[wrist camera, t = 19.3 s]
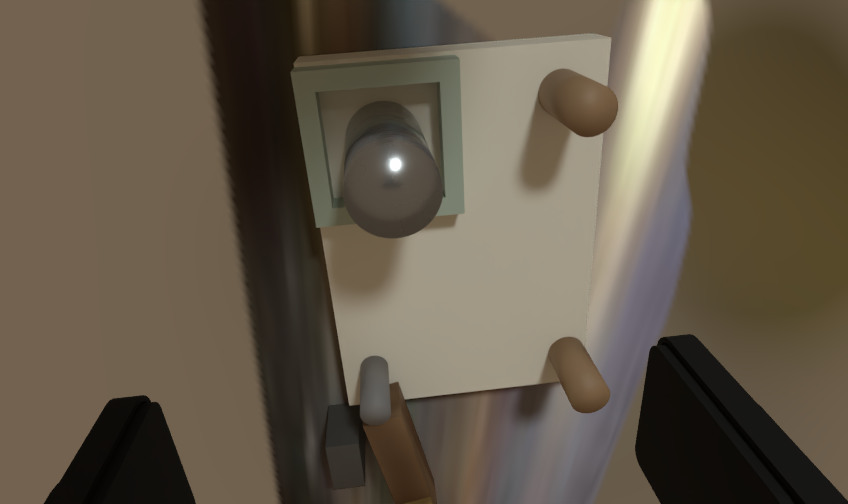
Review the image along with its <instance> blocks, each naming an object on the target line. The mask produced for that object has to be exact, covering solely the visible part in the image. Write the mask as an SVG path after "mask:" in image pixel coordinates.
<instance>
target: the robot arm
mask: <svg viewBox="0 0 848 504" xmlns="http://www.w3.org/2000/svg"><path fill="white" fill-rule="evenodd" d="M635 451H636V457H637V460H638V463H639V465H640V467H641V469H642V471H643V473H644V475H645V476H646V478H647V480H648V482H649V483H650V485H651V487H652V489H653V490H654V492H655V494H656V496H657V498H658V499H659V501H660V503H661V504H848V501H847V500H846V499H845V498H844V497H843V495H842V494H841V493H840V492H839V491H838V490H837V489H836V488H835V487H834V486H833V485H832V483H831V482H830V481H829V480H828V479H827V478H826V477H825V476H824V475H823V474H822V473H821V471H820V470H819V469H818V468H817V467H816V466H815V465H814V464H813V463H812V462H811V461H810V460H809V458H808V457H807V456H806V455H805V454H804V453H803V452H802V451H801V450H800V449H799V448H798V446H797V445H796V444H795V443H794V442H793V441H792V440H791V439H790V438H789V437H788V436H787V434H786V433H785V432H784V431H783V430H782V429H781V428H780V427H779V426H778V425H777V424H776V423H775V421H774V420H773V419H772V418H771V417H770V416H769V415H768V414H767V413H766V412H765V411H764V409H763V408H762V407H761V406H760V405H758V404H757V403H756V402H755V401H754V400H753V398H752V397H751V396H750V395H749V394H748V393H747V392H746V391H745V390H744V389H743V388H742V386H741V385H740V384H739V383H738V382H737V381H736V380H735V379H734V378H733V377H732V376H731V375H730V373H729V372H728V371H727V370H726V369H725V368H724V367H723V366H722V365H721V364H720V362H718V360H717V359H716V358H715V357H714V356H713V355H712V354H711V353H710V352H709V351H708V349H706V347H705V346H704V345H703V344H702V343H701V342H700V341H699V340H698V338H696V337H695V336H694V335H691V334H688V335H679V336H670V337H663V338H660V340H659V341H658V344H657V346H652V347H651V349H650V352H649V358H648V365H647V372H646V378H645V385H644V391H643V398H642V405H641V411H640V418H639V425H638V431H637V438H636V445H635ZM44 504H196V503H195V499H194V496H193V494H192V491H191V488H190V486H189V483H188V480H187V477H186V475H185V472H184V469H183V466H182V464H181V461H180V458H179V455H178V453H177V450H176V447H175V444H174V442H173V439H172V436H171V433H170V431H169V428H168V425H167V423H166V420H165V417H164V414H163V412H162V409H161V407H160V405H159V404H158V403H157V402H151V401H150V399H149V398H148V397H147V396H144V395H142V396H133V397H124V398H116V399H112V400H110V401H109V402H108V403H107V404H106V406H105V407H104V409H103V411H102V412H101V414H100V416H99V418H98V419H97V421H96V422H95V424H94V426H93V427H92V429H91V431H90V433H89V434H88V436H87V437H86V439H85V441H84V442H83V444H82V446H81V447H80V449H79V451H78V452H77V454H76V456H75V457H74V459H73V461H72V462H71V464H70V466H69V467H68V469H67V471H66V472H65V474H64V476H63V477H62V479H61V480H60V482H59V483H58V484H57V485H56V486H55V488H54V489H53V490H52V492H51V493H50V494H49V496H48V498H47V499H46V501H45V503H44Z"/></svg>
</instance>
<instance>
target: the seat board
mask: <svg viewBox="0 0 848 504" xmlns="http://www.w3.org/2000/svg"><path fill="white" fill-rule="evenodd" d="M610 48H611V38H610V37H606V36H602V35H597V34H593V33H591V34H579V35H565V36H554V37H541V38H527V39H515V40H502V41H489V42H477V43H464V44H451V45H439V46H426V47H413V48H401V49H388V50H375V51H363V52H350V53H337V54H325V55H312V56H299V57H298V58H297V59H296V61H295V62H294V63H293V64H294V68H293V69H292V71H291V72H290V73H291V79H292V85H293V91H294V97H295V103H296V109H297V115H298V121H299V127H300V133H301V139H302V145H303V151H304V157H305V163H306V169H307V175H308V181H309V187H310V193H311V199H312V205H313V211H314V217H315V223H316V228H319V227H320V230H321V236H322V242H323V248H324V254H325V260H326V266H327V272H328V279H329V285H330V291H331V297H332V303H333V309H334V315H335V321H336V328H337V334H338V340H339V346H340V352H341V358H342V364H343V370H344V377H345V383H346V389H347V395H348V401H349V404H340V405H331V406H329V409H328V420H327V432H326V444H325V449H326V454H327V459H328V464H329V469H330V474H331V480H332V485H333V490H336V489H344V488H352V487H360V486H365V438H364V432H363V425H362V421H363V422H364V423H366V424H368V425H373V426H376V425H381V424H384V423H385V422H387V421H388V420H389V418H390V416H391V403H390V386H389V384H391V383H395V382H399V385H400V388H401V391H402V393H403V396H404V399H413V398H421V397H430V396H439V395H447V394H456V393H465V392H473V391H482V390H491V389H499V388H508V387H517V386H525V385H534V384H543V383H551V382H560V383H561V385H562V387H563V389H564V391H565V393H566V395H567V397H568V399H569V401H570V403H571V405H572V407H573V408H574V409H575V410H576V411H578V412H581V413H592V412H595V411H598V410H599V409H601V408H602V407H604V406H605V405H606V404H607V402H608V400H609V398H610V390H609V388H608V386H607V385H606V383H605V381H604V380H603V378H602V376H601V374H600V373H599V371H598V369H597V368H596V366H595V364H594V363H593V361H592V359H591V358H590V356H589V354H588V352H587V351H586V349H585V342H586V330H587V319H588V307H589V295H590V283H591V271H592V260H593V248H594V236H595V224H596V213H597V201H598V189H599V177H600V165H601V154H602V142H603V132H605V131H606V130H607V129H608V128H609V127H610V126H611V125H612V123H613V122H614V120H615V118H616V115H617V111H618V101H617V98H616V95H615V94H614V92H613V91H612V90H611V89H610V88H609V87H607V83H608V71H609V59H610ZM376 101H391V102H395V103H398V104H400V105H402V106H403V107H405V108H406V109H408V110H409V111H410V112H411V113H412V114H413V115H414V117H415V118H416V120H417V122H418V124H419V126H420V128H421V131H422V133H423V135H424V138H425V140H426V142H427V145H428V147H429V149H430V152H431V154H432V156H433V159H434V161H435V163H436V166H437V168H438V170H439V173H440V175H441V178H442V182H443V198H442V203H441V206H440V208H439V211H438V213H437V214H436V216H435V217H434V219H433V220H432V221H431V222H430V223H429V224H428V225H427V226H426V227H425V228H423V229H422V230H420V231H419V232H417V233H415V234H412V235H410V236H407V237H403V238H382V237H378V236H375V235H372V234H370V233H368V232H366V231H365V230H363V229H362V228H360V227H359V226H358V225H357V224H356V223H355V222H354V221H353V220H352V218H351V217H350V215H349V213H348V211H347V209H346V206H345V203H344V198H343V183H344V161H345V139H346V130H347V126H348V124H349V122H350V120H351V118H352V117H353V115H354V114H355V113H356V112H357V111H358V110H359V109H361V108H362V107H363V106H365V105H367V104H369V103H372V102H376Z"/></svg>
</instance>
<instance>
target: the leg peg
mask: <svg viewBox="0 0 848 504" xmlns="http://www.w3.org/2000/svg"><path fill="white" fill-rule="evenodd" d="M343 198H344V203H345V206H346V209H347V211H348V213H349V215H350V217H351V218H352V220H353V221H354V222H355V223H356V224H357V225H358V226H359V227H360V228H362V229H363V230H365V231H366V232H368V233H370V234H372V235H375V236H378V237H382V238H403V237H407V236H410V235H412V234H415V233H417V232H419V231H420V230H422V229H423V228H425V227H426V226H427V225H428V224H429V223H430V222H431V221H432V220H433V219H434V217H435V216H436V214H437V213H438V211H439V208H440V206H441V203H442V198H443V182H442V178H441V175H440V173H439V170H438V168H437V166H436V163H435V161H434V159H433V156H432V154H431V152H430V149H429V147H428V145H427V142H426V140H425V138H424V135H423V133H422V131H421V128H420V126H419V124H418V122H417V120H416V118H415V117H414V115H413V114H412V113H411V112H410V111H409V110H408V109H406V108H405V107H403V106H402V105H400V104H398V103H395V102H391V101H376V102H372V103H369V104H367V105H365V106H363V107H362V108H361V109H359V110H358V111H357V112H356V113H355V114H354V115H353V117H352V118H351V120H350V122H349V124H348V126H347V130H346V139H345V161H344V183H343Z"/></svg>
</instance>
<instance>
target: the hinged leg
mask: <svg viewBox="0 0 848 504" xmlns="http://www.w3.org/2000/svg"><path fill="white" fill-rule="evenodd" d="M389 386H390V403H391V416H390V418H389V420H388V421H387V422H385V423H384V424H381V425H376V426H373V425H368V424H366V423H364V422H363V428H364V431H365V433H366V435H367V438H368V440H369V442H370V445H371V447H372V449H373V452H374V454H375V457H376V459H377V461H378V464H379V466H380V468H381V471H382V473H383V475H384V478H385V480H386V483H387V485H388V487H389V490H390V492H391V494H392V497H393V499H394V501H395V504H437V500H436V492H435V485H434V479H433V476H432V473H431V471H430V468H429V465H428V462H427V460H426V457H425V454H424V451H423V449H422V446H421V443H420V440H419V438H418V435H417V432H416V429H415V427H414V424H413V421H412V418H411V416H410V413H409V410H408V407H407V404H406V402H405V399H404V396H403V393H402V391H401V388H400V385H399V382H395V383H391V384H389Z"/></svg>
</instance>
